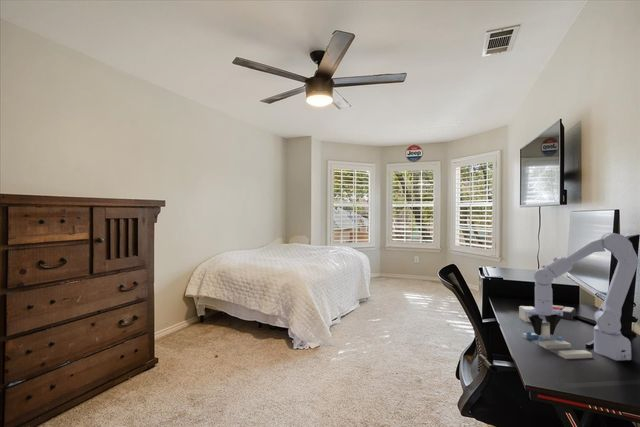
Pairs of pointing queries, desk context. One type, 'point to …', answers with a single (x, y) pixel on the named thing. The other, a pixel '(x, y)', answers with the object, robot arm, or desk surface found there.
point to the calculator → (566, 311)
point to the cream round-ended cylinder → (545, 330)
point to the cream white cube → (522, 313)
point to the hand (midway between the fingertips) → (544, 334)
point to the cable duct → (557, 346)
